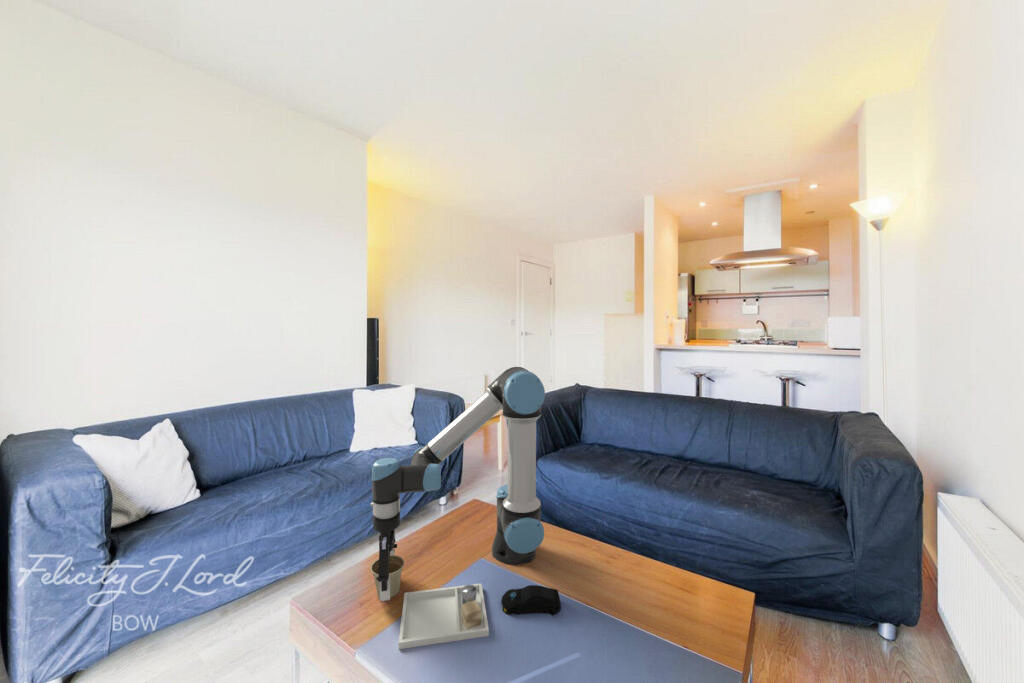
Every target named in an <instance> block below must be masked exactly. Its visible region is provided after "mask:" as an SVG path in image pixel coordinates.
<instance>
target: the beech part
mask: <svg viewBox="0 0 1024 683" xmlns="http://www.w3.org/2000/svg"><path fill="white" fill-rule="evenodd" d="M461 609H462V621H463V623H464V625H465V627H466V630H467V629H470V628H473V627H476V626H478V625H481V609H480V607H479V605H478V604H477V602H476V600H475V601H471V602H468V603H465V604H462V605H461Z"/></svg>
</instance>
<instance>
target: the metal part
mask: <svg viewBox="0 0 1024 683" xmlns="http://www.w3.org/2000/svg"><path fill="white" fill-rule="evenodd" d="M463 586H464V585H463ZM475 600H476V587H475V586H473V585H472V584H466V586H464V587H463V588H462V604H465V603H468V602H471V601H475Z"/></svg>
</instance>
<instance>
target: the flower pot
mask: <svg viewBox="0 0 1024 683" xmlns="http://www.w3.org/2000/svg"><path fill="white" fill-rule="evenodd" d="M404 567H405V560H404V558H403V557H402V556H399V555H396V554H395V555H390V565H389V576H390V599H391V598H393V597H395V596H396V595H398V593H400V588H401V587H400V586H401V577H402V571H403V568H404ZM370 572H371V574H372V575H373V579H374V583H375V589H376V594H377V597H378V598H379V599H380V586H379V582H378V580H376V577H378V574H379V558H377V559H376V560H375V561H373V562H372V564H371V566H370Z"/></svg>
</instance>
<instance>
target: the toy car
mask: <svg viewBox="0 0 1024 683" xmlns="http://www.w3.org/2000/svg"><path fill="white" fill-rule="evenodd" d="M500 602H501V605H502V612H503V613H504V614H506V615H510V616H511V615H518V616H519V615H532V614H547V615H548V614H549V615H550V614H551V615H553V616H554V615H555V613H558V612H560V611H561V608H562V603H561V599H560V594H559V590H558V589H555V588H552V587H548V586H543V585H537V584H535V585H533V584H531V585H530V584H529V585H527V586H525V587H522V588H512V589H511V588H510V589H508V590H507V591H506V592H505V593H503V595H502V596H501V601H500ZM551 615H550V616H551Z"/></svg>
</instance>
